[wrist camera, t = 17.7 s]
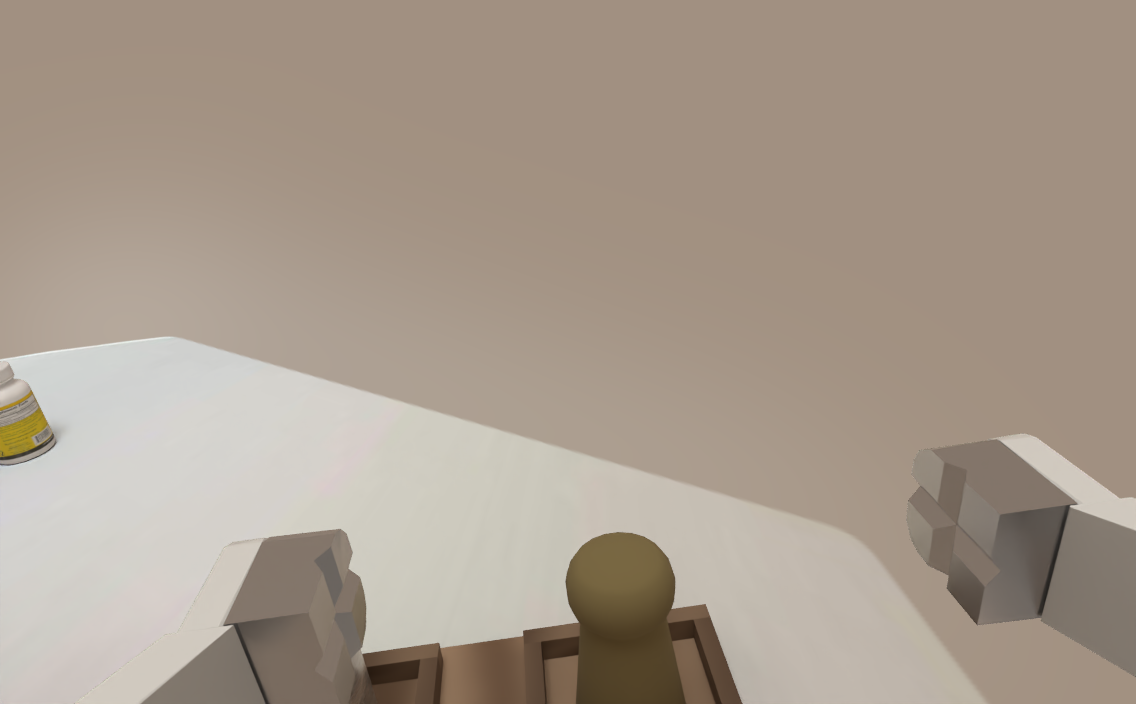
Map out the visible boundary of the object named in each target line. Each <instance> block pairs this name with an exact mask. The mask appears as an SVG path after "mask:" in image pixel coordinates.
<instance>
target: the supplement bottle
mask: <svg viewBox="0 0 1136 704" xmlns="http://www.w3.org/2000/svg"><path fill="white" fill-rule="evenodd" d="M13 377H14V373H13V370H12V369H11V367H10V365H9V363H8V362H5V361H0V464H6V465H9V464H16V463H20V462H24V461H27V460H30V459H32V458H35V457H37V456H39V455H41V454H43V453H44V452H46V451H48V450H49V449H50V448H51V447H52V446H53V445H54V443H55V436H54V434H53V432H52V430H51V428H50V426H49V424H48V422H47V420H46V418H45V416H44V414H43V412H42V410H41V408H40V406H39V404H38V402H37V400H36V398H35V396H34V394H33V392H32V390H31V388H30V386H29V384H28V383H27V382H25V381H23V380H20V379H13Z"/></svg>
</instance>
